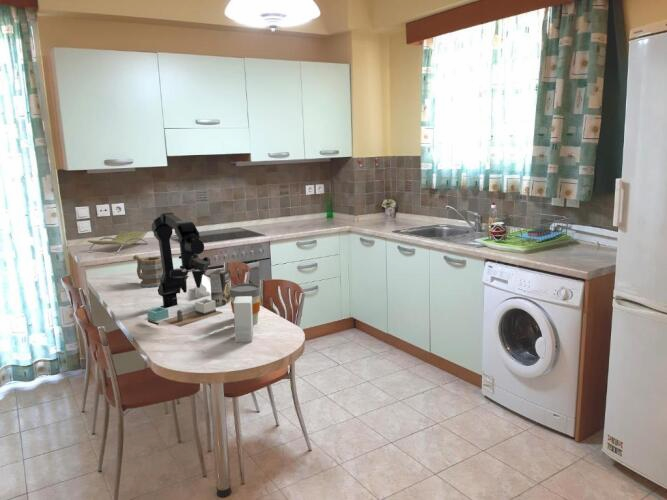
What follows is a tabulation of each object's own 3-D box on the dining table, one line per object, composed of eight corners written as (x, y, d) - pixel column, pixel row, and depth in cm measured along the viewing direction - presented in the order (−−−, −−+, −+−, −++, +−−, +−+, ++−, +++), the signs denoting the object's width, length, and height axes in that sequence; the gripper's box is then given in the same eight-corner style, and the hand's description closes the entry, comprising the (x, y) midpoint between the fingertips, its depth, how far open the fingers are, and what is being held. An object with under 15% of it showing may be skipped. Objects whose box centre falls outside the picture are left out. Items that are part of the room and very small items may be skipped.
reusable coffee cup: (248, 329, 209) (246, 293, 206) (224, 324, 215) (222, 289, 212) (268, 320, 219) (266, 285, 216) (245, 316, 226) (243, 282, 223)
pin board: (162, 324, 217) (161, 310, 216) (205, 310, 234) (204, 297, 233) (180, 330, 210) (179, 315, 209) (223, 315, 227) (222, 302, 226)
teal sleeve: (148, 321, 221) (147, 310, 220) (160, 318, 225) (159, 306, 224) (156, 324, 217) (155, 312, 216) (169, 320, 222) (168, 309, 221)
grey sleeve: (195, 313, 226) (194, 302, 225) (206, 309, 231) (206, 298, 230) (204, 315, 222) (203, 304, 221) (215, 312, 227) (215, 300, 226)
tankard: (171, 283, 283) (168, 255, 280) (151, 288, 273) (149, 260, 270) (146, 278, 294) (144, 252, 291) (126, 284, 283) (124, 256, 280)
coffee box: (224, 309, 236) (222, 273, 233) (211, 308, 238) (209, 273, 234) (232, 303, 245) (230, 269, 242) (219, 302, 246) (217, 268, 243)
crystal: (191, 280, 273) (190, 292, 250) (203, 273, 273) (203, 284, 250) (200, 292, 275) (199, 305, 252) (211, 284, 275) (212, 296, 252)
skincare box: (237, 335, 203) (234, 296, 200) (254, 334, 204) (252, 295, 201) (235, 343, 195) (232, 302, 192) (253, 342, 196) (251, 301, 192)
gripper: (190, 255, 205) (194, 295, 207) (217, 249, 222) (221, 285, 224) (167, 256, 209) (171, 295, 211) (195, 249, 226) (199, 285, 228)
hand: (192, 290), depth 218 cm, fingers open, 9 cm apart
